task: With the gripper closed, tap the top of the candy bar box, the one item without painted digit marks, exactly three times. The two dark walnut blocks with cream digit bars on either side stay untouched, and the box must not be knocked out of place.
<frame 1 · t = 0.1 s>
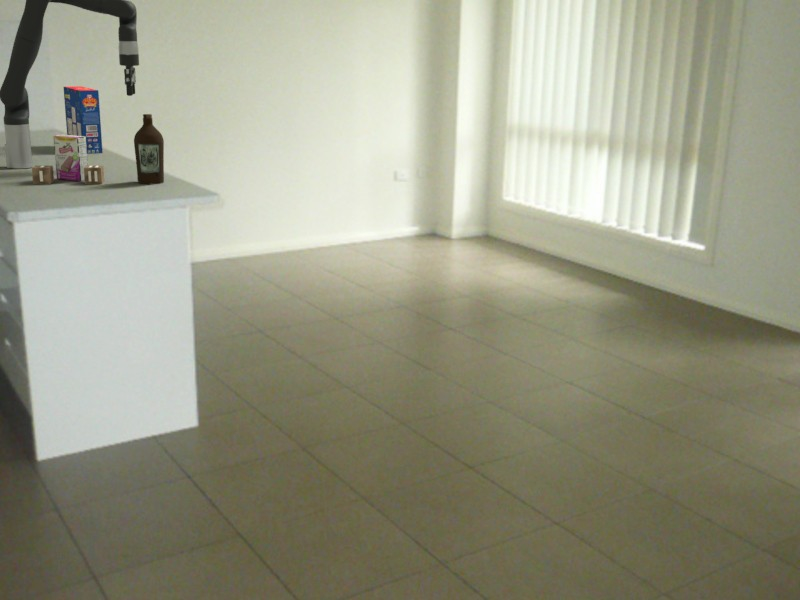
hand: (131, 94, 368), 29 cm above the table, fingers open, 8 cm apart
pasta box: (85, 150, 425), on the table
walnut block two: (94, 183, 338), on the table
candy bar box: (72, 180, 343), on the table
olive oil: (150, 182, 342), on the table
walnut block one: (43, 183, 335), on the table
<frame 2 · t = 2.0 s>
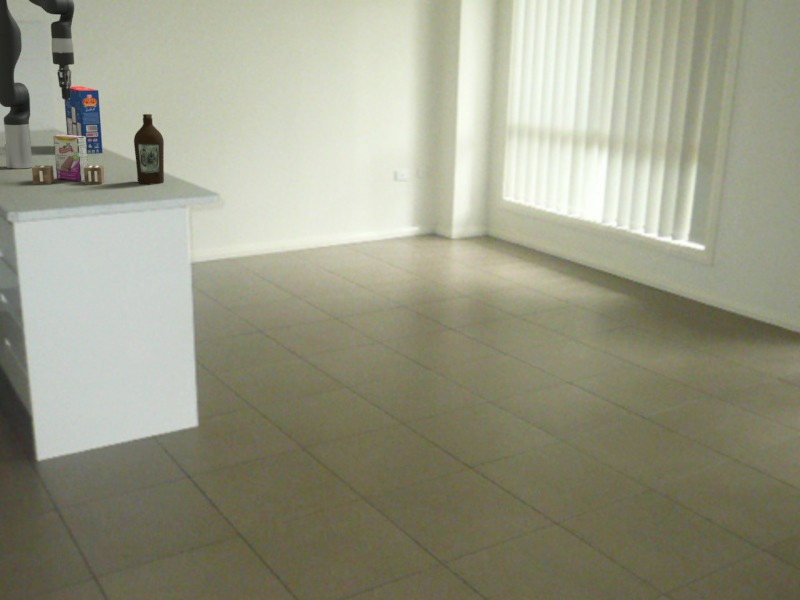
hand: (66, 98, 344), 29 cm above the table, fingers open, 3 cm apart
nothing on the table moved.
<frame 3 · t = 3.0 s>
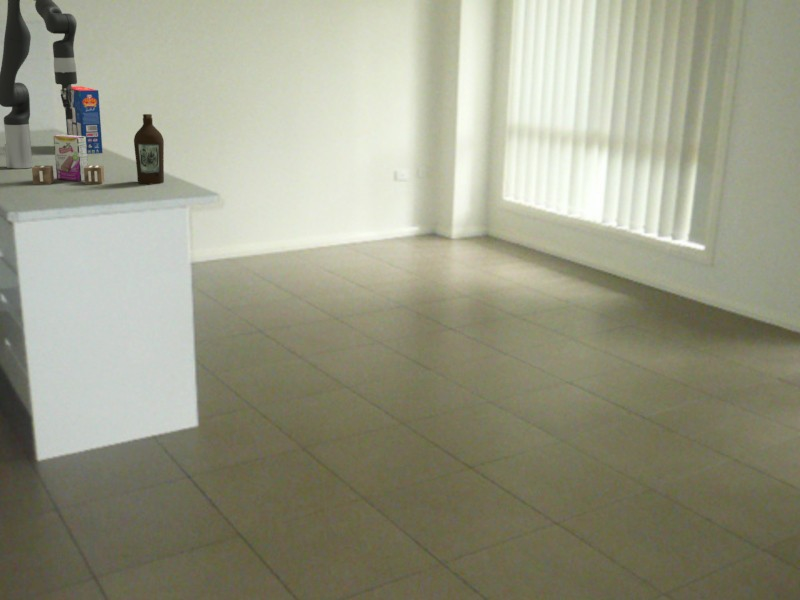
hand: (69, 119, 337), 22 cm above the table, fingers closed
nothing on the table moved.
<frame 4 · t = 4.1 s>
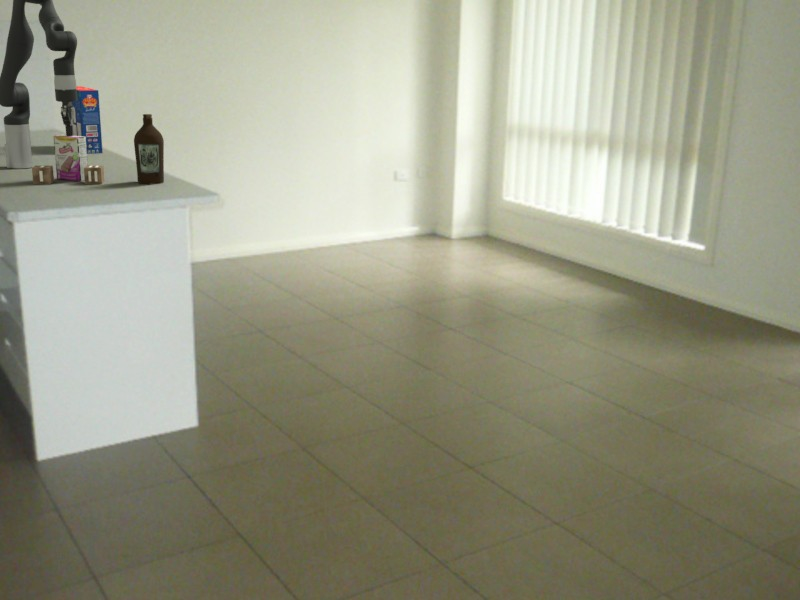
hand: (69, 135, 338), 16 cm above the table, fingers closed
candy bar box: (73, 180, 343), on the table, touching gripper
everything else where it was.
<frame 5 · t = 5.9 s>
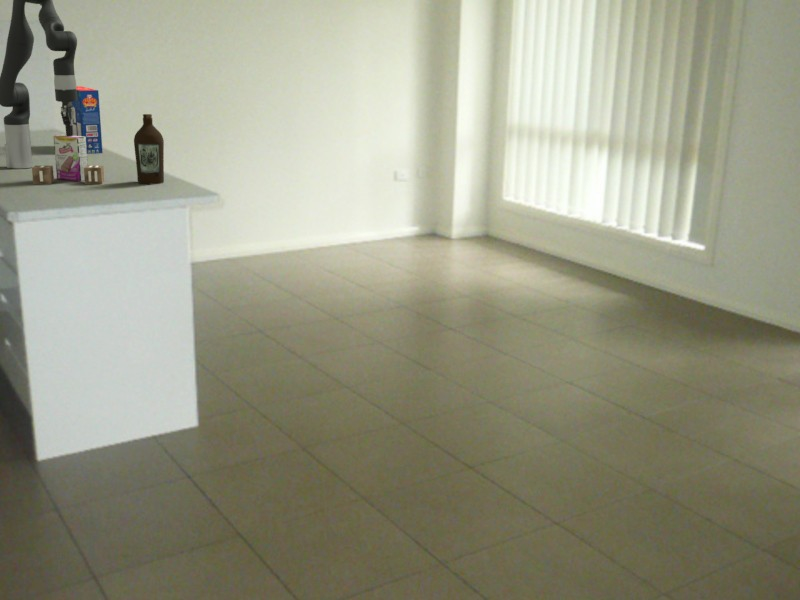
hand: (69, 135, 338), 16 cm above the table, fingers closed
nothing on the table moved.
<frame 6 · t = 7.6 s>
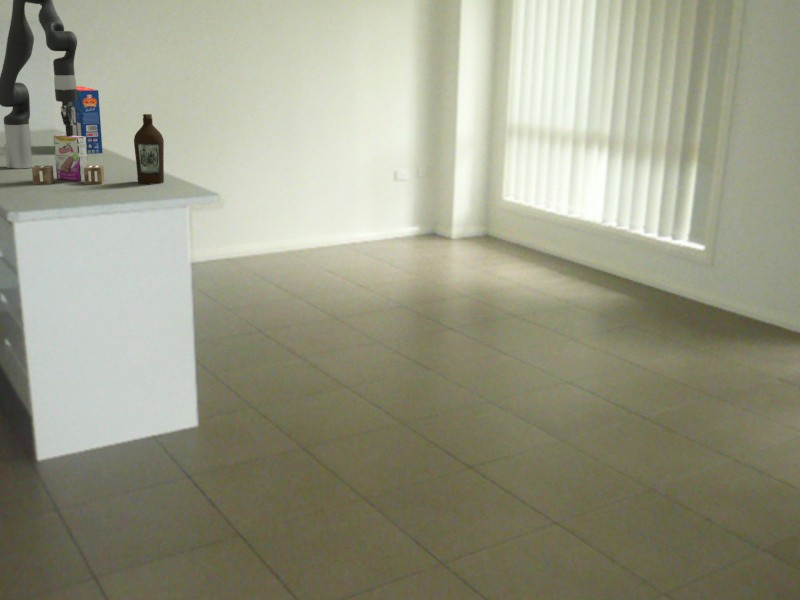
hand: (69, 135, 338), 16 cm above the table, fingers closed
nothing on the table moved.
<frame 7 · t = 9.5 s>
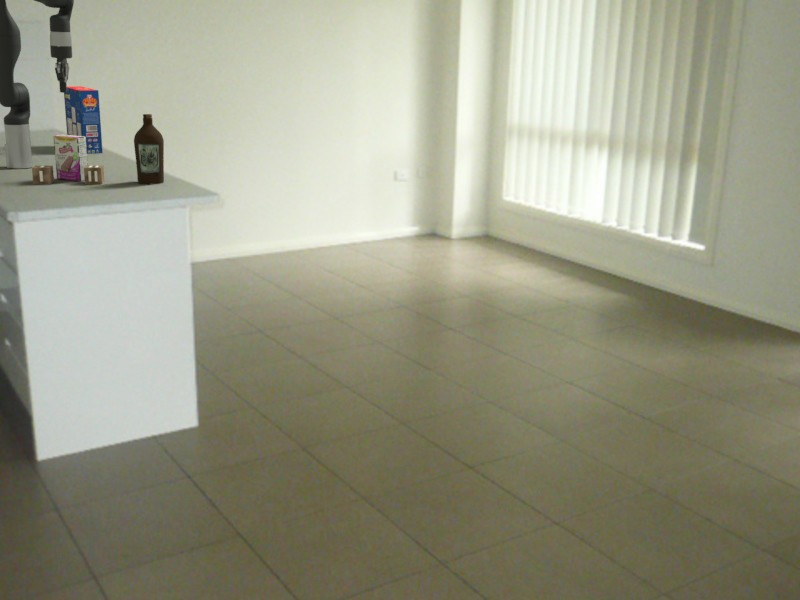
hand: (63, 92, 344), 31 cm above the table, fingers closed
candy bar box: (72, 180, 343), on the table
everything else where it was.
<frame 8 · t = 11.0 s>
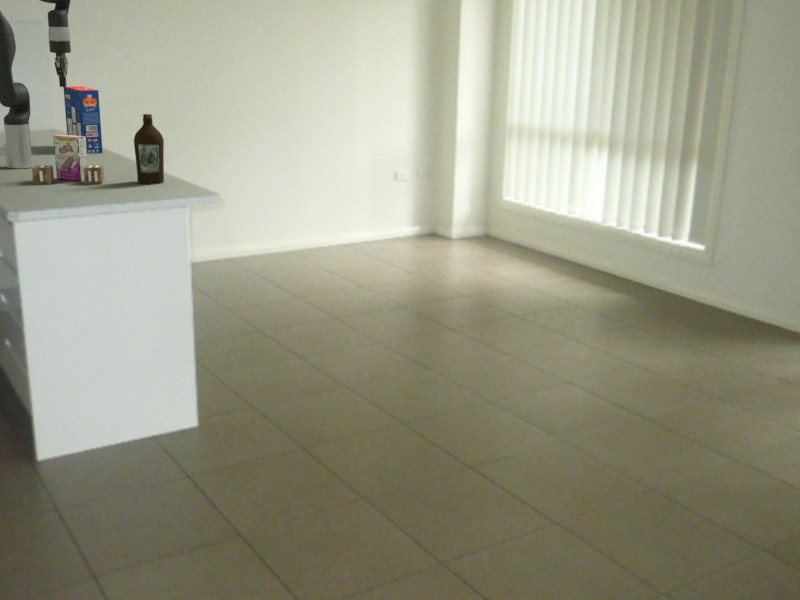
hand: (63, 86, 348), 33 cm above the table, fingers closed
nothing on the table moved.
at the end: candy bar box moved 0.2 cm from its start; candy bar box tilted 0°; walnut block two moved 0.1 cm from its start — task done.
